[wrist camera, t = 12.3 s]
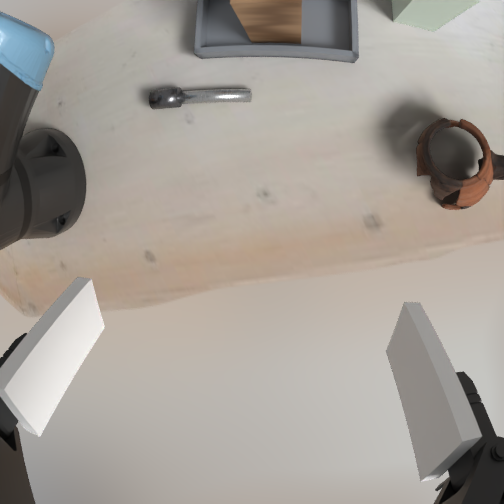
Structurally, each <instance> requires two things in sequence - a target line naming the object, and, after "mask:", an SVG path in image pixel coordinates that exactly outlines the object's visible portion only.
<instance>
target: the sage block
mask: <svg viewBox="0 0 504 504" xmlns="http://www.w3.org/2000/svg"><path fill="white" fill-rule="evenodd" d="M391 1H392V13H393V22H396V23H401V24H405V25H409V26H413V27H417V28H421V29H425V30H428V31H432V32H435V31H436V30H438V29H439V28H441V27H442V26H443V25H445V24H446V23H448V22H449V21H451V20H452V19H454V18H455V17H457V16H458V15H460V14H462V13H463V12H465V11H466V10H468V9H469V8H471V7H472V6H474V5H476V4H477V3H479V0H391Z"/></svg>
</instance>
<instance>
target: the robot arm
mask: <svg viewBox="0 0 504 504" xmlns="http://www.w3.org/2000/svg"><path fill="white" fill-rule="evenodd" d="M53 55H54V42H53V40H52V39H51V37H50V36H49V35H47V34H46V33H44V32H42V31H41V30H39V29H37V28H35V27H33V26H31V25H29V24H27V23H25V22H23V21H21V20H19V19H16V18H14V17H12V16H10V15H7V14H5V13H3V12H0V250H1V249H3V248H5V247H7V246H9V245H10V244H12V243H14V242H16V241H18V240H20V239H34V238H50V237H54V236H56V235H59V234H60V233H62V232H64V231H66V230H68V229H69V228H70V227H72V226H73V225H74V223H75V222H76V221H77V219H78V218H79V216H80V214H81V211H82V208H83V205H84V201H85V194H86V177H85V170H84V165H83V162H82V159H81V156H80V154H79V152H78V150H77V148H76V146H75V145H74V143H73V142H72V141H71V139H70V138H69V137H68V136H66V135H65V134H64V133H62V132H60V131H58V130H55V129H40V130H34V131H31V132H29V133H27V134H25V135H24V136H22V134H23V131H24V128H25V125H26V122H27V120H28V117H29V114H30V112H31V109H32V106H33V104H34V102H35V99H36V97H37V94H38V92H39V91H41V89H42V86H43V84H42V82H43V80H44V77H45V74H46V72H47V69H48V67H49V64H50V62H51V60H52V58H53ZM104 328H105V326H104V323H103V320H102V316H101V313H100V309H99V306H98V302H97V298H96V295H95V291H94V287H93V283H92V279H90V278H82V277H77V278H76V279H75V280H74V282H73V283H72V284H71V285H70V286H69V287H68V288H67V289H66V290H65V291H64V292H63V293H62V295H61V296H60V297H59V298H58V299H57V300H56V301H55V302H54V303H53V305H52V306H51V307H50V308H49V309H48V310H47V311H46V313H45V314H44V315H43V316H42V317H41V318H40V319H39V321H38V322H37V323H36V324H35V325H34V327H33V328H32V329H31V330H30V331H29V333H28V334H27V333H24V334H23V335H21V336H20V337H19V338H17V339H16V340H15V341H14V342H13V343H12V345H11V346H10V347H9V350H7V351H6V352H5V353H4V354H3V357H1V358H0V504H35V501H34V498H33V494H32V490H31V487H30V483H29V479H28V475H27V471H26V466H25V462H24V457H23V452H22V447H21V442H20V436H19V431H18V428H17V427H16V424H17V423H18V421H19V422H20V424H21V425H22V426H23V427H24V429H25V430H27V431H29V432H31V433H33V434H35V435H37V436H41V434H42V432H43V430H44V428H45V426H46V425H47V423H48V421H49V419H50V417H51V415H52V414H53V412H54V410H55V408H56V407H57V405H58V403H59V401H60V399H61V398H62V396H63V394H64V393H65V391H66V389H67V387H68V386H69V384H70V382H71V381H72V379H73V377H74V376H75V374H76V372H77V371H78V369H79V368H80V366H81V364H82V363H83V361H84V359H85V358H86V356H87V355H88V353H89V351H90V350H91V348H92V347H93V345H94V343H95V342H96V340H97V339H98V337H99V335H100V334H101V332H102V331H103V330H104ZM386 353H387V356H388V359H389V362H390V365H391V369H392V372H393V375H394V378H395V381H396V385H397V388H398V392H399V395H400V399H401V402H402V406H403V410H404V413H405V417H406V421H407V425H408V429H409V433H410V436H411V441H412V445H413V449H414V453H415V458H416V462H417V467H418V471H419V476H420V481H425V480H430V479H435V478H439V477H440V476H441V475H443V474H444V473H445V472H446V471H447V470H448V472H449V476H450V477H449V478H447V479H446V480H445V481H444V482H442V483H441V484H440V485H439V486H438V487H437V488H436V489H435V490H436V491H438V490H439V489H441V488H442V490H441V491H440V493H439V495H438V497H437V499H436V500H435V502H434V504H504V438H502V437H497V436H496V434H495V431H494V429H493V426H492V424H491V422H490V419H489V417H488V414H487V412H486V410H485V407H484V405H483V403H481V398H480V396H479V394H477V389H476V387H475V385H474V383H473V381H472V380H471V379H470V378H469V377H468V376H467V375H466V374H465V372H457V373H456V372H455V370H454V368H453V366H452V364H451V362H450V359H449V357H448V356H447V353H446V351H445V349H444V347H443V345H442V343H441V341H440V339H439V337H438V335H437V333H436V331H435V330H434V328H433V326H432V324H431V322H430V320H429V318H428V316H427V315H426V313H425V311H424V309H423V307H422V305H421V304H420V303H416V302H414V303H413V302H404V304H403V307H402V310H401V313H400V316H399V318H398V321H397V324H396V327H395V329H394V332H393V335H392V337H391V340H390V342H389V345H388V347H387V350H386Z"/></svg>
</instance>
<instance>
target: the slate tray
mask: <svg viewBox="0 0 504 504" xmlns="http://www.w3.org/2000/svg"><path fill="white" fill-rule="evenodd" d="M194 54H196V55H197V56H199V57H200V58H201V59H206V58H223V57H292V58H309V59H322V60H332V61H342V62H350V63H355V61H356V60H357V59H358V58H359V46H358V14H357V0H302V26H301V44H290V43H252V42H251V40H250V38H249V36H248V35H247V33H246V31H245V29H244V27H243V26H242V24H241V22H240V20H239V18H238V17H237V15H236V13H235V11H234V10H233V8H232V6H231V4H230V0H198V4H197V17H196V31H195V48H194Z"/></svg>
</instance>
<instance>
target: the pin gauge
mask: <svg viewBox="0 0 504 504" xmlns="http://www.w3.org/2000/svg"><path fill="white" fill-rule="evenodd" d="M251 98H252V92H251V89H217V90H195V91H182V90H181V88H168V89H158V90H152V91H151V93H150V96H149V103H150V106H151V108H152V109H162V108H176V107H181V105H182V104H188V103H211V102H251Z"/></svg>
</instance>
